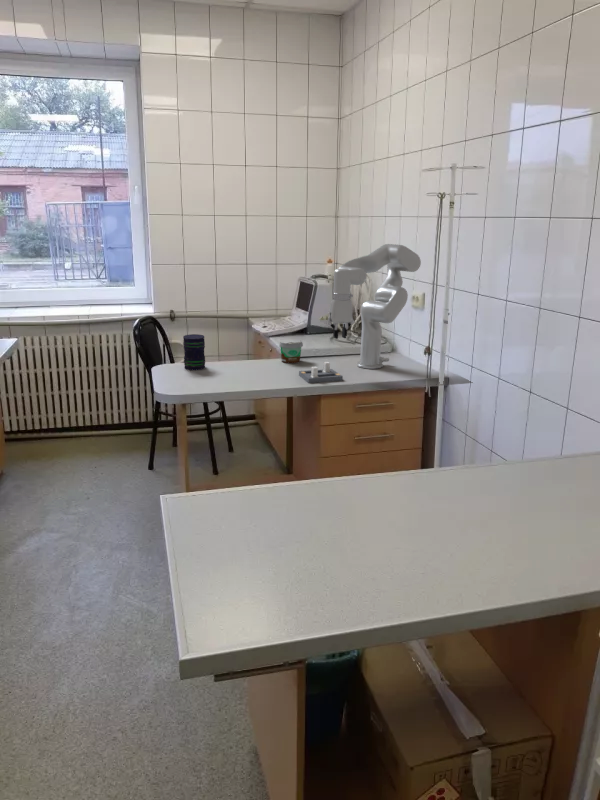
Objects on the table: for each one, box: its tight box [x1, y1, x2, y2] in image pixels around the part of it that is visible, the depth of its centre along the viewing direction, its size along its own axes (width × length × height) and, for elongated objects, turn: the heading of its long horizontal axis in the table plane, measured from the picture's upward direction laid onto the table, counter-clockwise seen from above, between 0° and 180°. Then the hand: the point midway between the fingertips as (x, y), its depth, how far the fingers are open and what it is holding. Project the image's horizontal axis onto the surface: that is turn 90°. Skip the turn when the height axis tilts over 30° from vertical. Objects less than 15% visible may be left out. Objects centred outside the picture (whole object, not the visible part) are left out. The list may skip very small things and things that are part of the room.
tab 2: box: [322, 361, 331, 372], centre depth 282 cm, size 3×3×5 cm
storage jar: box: [182, 333, 206, 371], centre depth 289 cm, size 10×10×15 cm
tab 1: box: [310, 366, 319, 378], centre depth 273 cm, size 3×3×5 cm
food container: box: [278, 340, 304, 364], centre depth 303 cm, size 12×6×10 cm, turn 117°
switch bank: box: [298, 368, 343, 384], centre depth 278 cm, size 16×13×2 cm
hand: (339, 337), depth 279 cm, fingers open, 3 cm apart
